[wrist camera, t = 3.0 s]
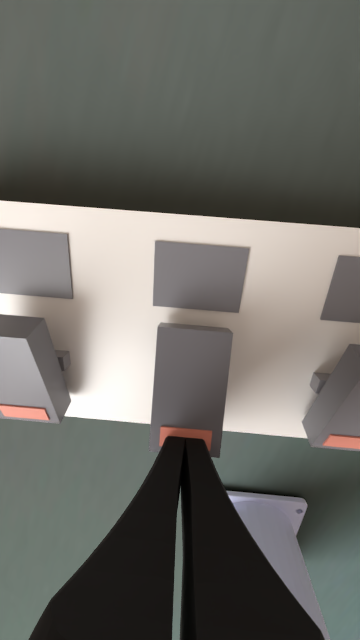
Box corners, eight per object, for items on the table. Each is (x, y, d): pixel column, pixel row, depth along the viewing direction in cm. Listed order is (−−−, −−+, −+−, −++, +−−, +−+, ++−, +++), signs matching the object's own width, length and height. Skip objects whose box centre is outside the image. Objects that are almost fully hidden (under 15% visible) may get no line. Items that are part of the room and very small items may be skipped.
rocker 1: (71, 400, 12) (59, 425, 11) (15, 395, 12) (-2, 419, 11) (44, 318, 9) (24, 340, 8) (-30, 311, 9) (-59, 333, 8)
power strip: (373, 402, 16) (431, 459, 12) (-58, 364, 16) (-134, 406, 12) (444, 237, 12) (560, 242, 8) (-110, 194, 13) (-241, 181, 9)
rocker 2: (215, 439, 11) (219, 458, 10) (152, 433, 11) (148, 452, 10) (227, 327, 10) (233, 333, 9) (160, 322, 10) (157, 326, 9)
